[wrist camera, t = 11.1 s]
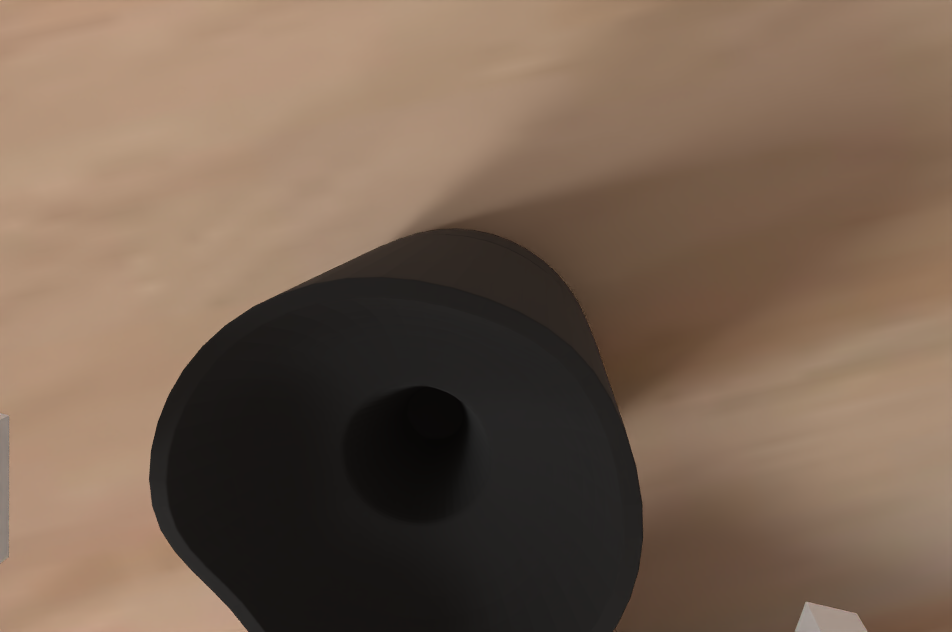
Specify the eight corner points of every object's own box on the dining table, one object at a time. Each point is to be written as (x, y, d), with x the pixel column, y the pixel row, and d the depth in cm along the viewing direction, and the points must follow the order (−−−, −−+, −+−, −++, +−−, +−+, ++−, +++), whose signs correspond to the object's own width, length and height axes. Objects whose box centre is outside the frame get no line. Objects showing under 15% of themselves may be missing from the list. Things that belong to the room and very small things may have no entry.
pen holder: (622, 227, 21) (678, 304, 12) (587, 507, 24) (611, 763, 14) (318, 201, 22) (135, 254, 12) (315, 474, 24) (159, 695, 15)
